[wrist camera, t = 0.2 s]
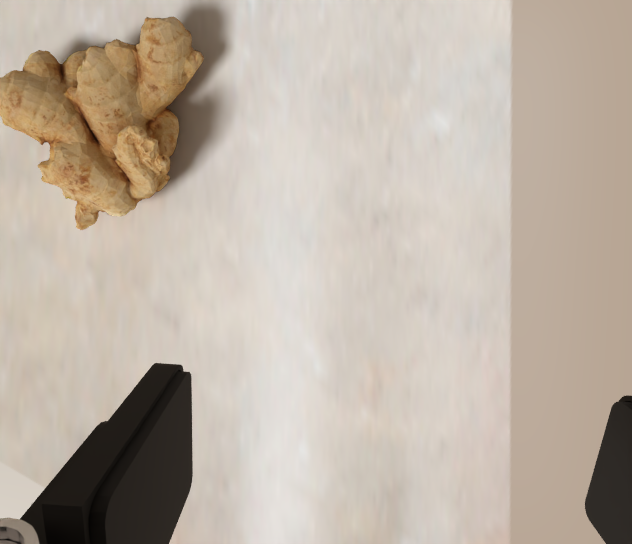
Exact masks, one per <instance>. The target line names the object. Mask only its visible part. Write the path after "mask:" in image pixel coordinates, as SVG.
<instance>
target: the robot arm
mask: <svg viewBox="0 0 632 544" xmlns="http://www.w3.org/2000/svg"><path fill="white" fill-rule="evenodd" d="M192 473H193V472H192V393H191V374H190V372H183V367H182V366H181V365H175V364H161V363H155V364H154V365H152V367H151V368H150V369H149V370H148V372H147V373H146V374H145V375H144V377H143V378H142V379H141V380H140V382H139V383H138V384H137V385H136V387H135V388H134V389H133V390H132V392H131V393H130V394H129V395H128V397H127V398H126V399H125V400H124V402H123V403H122V404H121V405H120V407H119V408H118V409H117V410H116V412H115V413H114V414H113V415H112V417H111V418H110V419H109V420H108V421H105V422H101V423H100V424H99V425H98V426H97V427H96V428H95V429H94V430H93V431H92V433H91V434H90V435H89V436H88V438H87V439H86V440H85V441H84V442H83V444H82V445H81V446H80V447H79V448H78V450H77V451H76V452H75V453H74V454H73V456H72V457H71V458H70V459H69V460H68V462H67V463H66V464H65V465H64V467H63V468H62V469H61V470H60V471H59V473H58V474H57V475H56V476H55V477H54V479H53V480H52V481H51V482H50V483H49V485H48V486H47V487H46V488H45V489H44V491H43V492H42V493H41V494H40V496H39V497H38V498H37V499H36V500H35V502H34V503H33V504H32V505H31V507H30V508H29V509H28V510H27V511H26V512H25V514H24V515H23V516H22V517H21V518H20V520H19V519H12V518H3V519H0V544H169V542H170V539H171V537H172V534H173V532H174V529H175V527H176V524H177V522H178V519H179V517H180V514H181V512H182V509H183V507H184V504H185V502H186V499H187V497H188V494H189V491H190V488H191V483H192ZM585 509H586V514H587V516H588V518H589V520H590V521H591V523H592V524H593V526H594V527H595V529H596V530H597V531H598V533H599V534H600V536H601V537H602V538H603V540H604V541H605V543H606V544H632V396H624V397H622V398H621V399H620V400H619V402H616V403H614V405H613V406H612V408H611V412H610V415H609V419H608V422H607V426H606V430H605V433H604V437H603V440H602V444H601V447H600V451H599V454H598V458H597V461H596V465H595V468H594V472H593V476H592V480H591V483H590V486H589V490H588V494H587V497H586V501H585Z"/></svg>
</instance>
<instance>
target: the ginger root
mask: <svg viewBox="0 0 632 544" xmlns="http://www.w3.org/2000/svg"><path fill="white" fill-rule="evenodd" d="M191 43H192V38H191V34H190V32H189V31H188V30H186V29H185V28H184V26H183V24H182V23H181V22H180V21H179V20H178V19H176V18H175V17H168V18H163V19H161V18H148V17H147V18H146V19H145V22H144V24H143V26H142V28H141V35H140V43H139V44H137V45H130V44H126V43H124V42H121V41H120V40H118V39H116V40H113V41H112V42H110V43H106V46H105V47H104V48H99V47H97V46H91V47H89V48H88V49H87V50H84V51H78V52H75V53H73V54H72V55H70V56H69V57H68V58H67V60H66V61H65V62H64V63H63V64H59V63H58V61H57V60H56V59H55V57H54V56H53V55H52V54H50V52H48V51H41V50H39V51H37V52H35V53H32V54H31V55H30V56H29V57H28V59H27V60H26V62H25V65H24V67H23V71H17V70H14V71H11V72H9V73H8V74H6V75H5V76H4V77H2V78H0V116H1V117H2V120H3V123H4V124H5V125H7V126H9V127H11V128H13V129H15V130H18V131H21V132H23V133H25V134H27V135H29V136H30V137H32V138H34V139H35V140H37V141H39V142H40V144H41V145H43V143H44V142H48V143H49V144H50V158H49V160H48V161H44V162H41V163H40V164H39V165H38V167H39V168H40V170H41V172H42V175H43V176H42V181H43V182H46V183H49V184H53V185H56V186H58V187H60V188H61V189H62V190H63V195H64V196H65V198H70V199H72V200H75V201H77V205H76V214H75V219H76V223H77V226H76V227H77V228H78V229H80V230H84V229H86V228H87V227H89V226H91V225H93V224H94V223H95V222H96V221H97V218H98V212H99V211H102V212H107V213H108V214H109V215H111V216H124V215H126V214H127V213H128V212H129V211H130V210H133V209H135V207H136V205H137V203H138V202H139V201H141V200H142V199H145V198H150V197H151V196H153V194H154V193H155V192H158V191H160V190H161V189H162V188H163V187H164V186H165V185H166V184H167V182H168V180H169V179H170V177H169V175H168V171H169V169H170V159H169V157H170V156H172V154H173V152H174V150H175V148H176V145H177V142H176V141H177V137H178V133H179V123H178V119H177V117H176V116H175V115H174V114H173V113H172V112H171V111H170V110H168V109H167V108H166V107H167V106H168V105H170V104H171V103H172V102H173V100H174V99H175V98H176V97H177V96H178V95H179V94H180V93H181V92H182V91H183V90H184V89H185V87H186V84H187V83H188V82H189V81H190V79H191V78H192V77H193V75H194V73H195V72H196V71H197V69H198V68H199V67H200V65H201V64H202V62H203V60H204V57H203V55H202V54H201V52H199V51H196V50H194V49H193V48H192V47H191Z"/></svg>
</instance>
